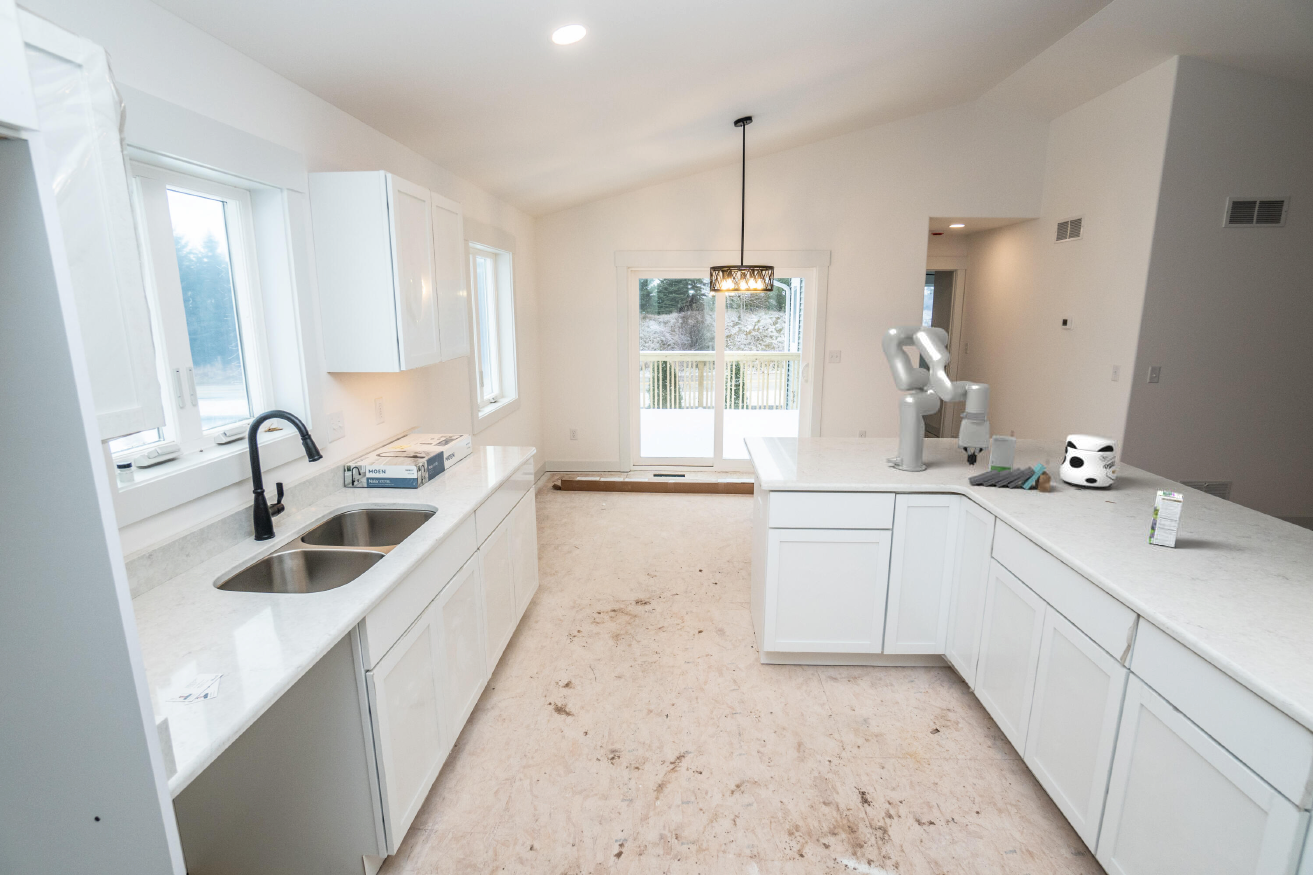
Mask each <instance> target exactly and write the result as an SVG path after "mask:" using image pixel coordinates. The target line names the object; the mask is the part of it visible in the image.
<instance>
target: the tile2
mask: <svg viewBox="0 0 1313 875" xmlns="http://www.w3.org/2000/svg"><path fill="white" fill-rule="evenodd" d="M998 474H999V477H996V478H993V479H990V480H987V481H984V482H982V484H983V486H984V487H988V486H990V485H992V484H995V482H998V481H1000V480H1003V479H1005V478H1008V477H1010V476H1013V475H1012V473H1011V472H1010V470H1009V469H1006V470H1003V471H1001V472H998Z"/></svg>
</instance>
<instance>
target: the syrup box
mask: <svg viewBox="0 0 1313 875" xmlns="http://www.w3.org/2000/svg"><path fill="white" fill-rule="evenodd" d="M1156 493H1157V494H1156V499H1155V502H1154V503H1155V504H1154V508H1153V512H1152V516H1151V517H1152V518H1151V524H1150V530H1149V537H1148V542H1149V543H1154V544H1159V545H1166V546H1172V547H1174V548H1175V546H1176V541H1177V536H1178V529H1179V526H1180V521H1181V514H1182V509H1183V503H1184V494H1181V493H1178V492H1174V491H1172V492H1171V491H1167V490H1158V491H1157V492H1156ZM1149 543H1148V544H1149Z"/></svg>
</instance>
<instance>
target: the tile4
mask: <svg viewBox="0 0 1313 875" xmlns="http://www.w3.org/2000/svg"><path fill="white" fill-rule="evenodd" d="M1033 469H1034V468H1032V467H1031V466H1028V467H1026V468H1025V469H1023V470H1022V471H1023V473H1024V474H1025V475H1023V476H1021V477H1019V478H1017V479H1015V480H1013V481H1010V482H1008V483H1006V485H1007V486H1008V487H1009V489H1012V488H1014V487H1016V486H1017V485H1018V484H1021V483H1022V481H1024V480H1025V479H1027V478H1028V477H1030V476H1031V475H1033V474H1035V473H1036V472H1035V471H1034V470H1033Z"/></svg>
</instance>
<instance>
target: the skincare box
mask: <svg viewBox="0 0 1313 875" xmlns="http://www.w3.org/2000/svg"><path fill="white" fill-rule="evenodd" d="M1016 446H1017V438H1016V437H1014V436H1008V435H1007V436H1006V435H992V440H991V446H990V447H991V449H990V456H989V462H988V463H989V464H988V471H987V472H989V471H991V470H994V469H996V470H997V472H1001V471H1003V470H1006V469H1009V470H1010V472H1012V471H1013V467H1014V461H1015V459H1014V458H1015V452H1016Z"/></svg>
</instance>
